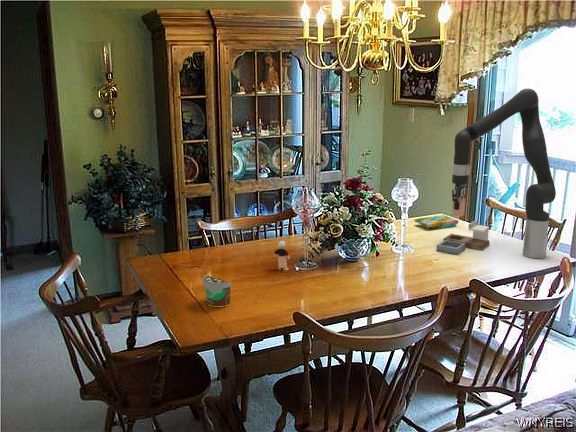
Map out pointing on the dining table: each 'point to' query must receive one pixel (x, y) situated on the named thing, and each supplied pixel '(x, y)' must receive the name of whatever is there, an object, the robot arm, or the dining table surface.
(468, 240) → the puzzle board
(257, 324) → the dining table surface
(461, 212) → the block
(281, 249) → the grandmother figurine
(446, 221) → the puzzle game
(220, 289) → the food container
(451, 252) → the tray
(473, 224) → the light grey blocky form
